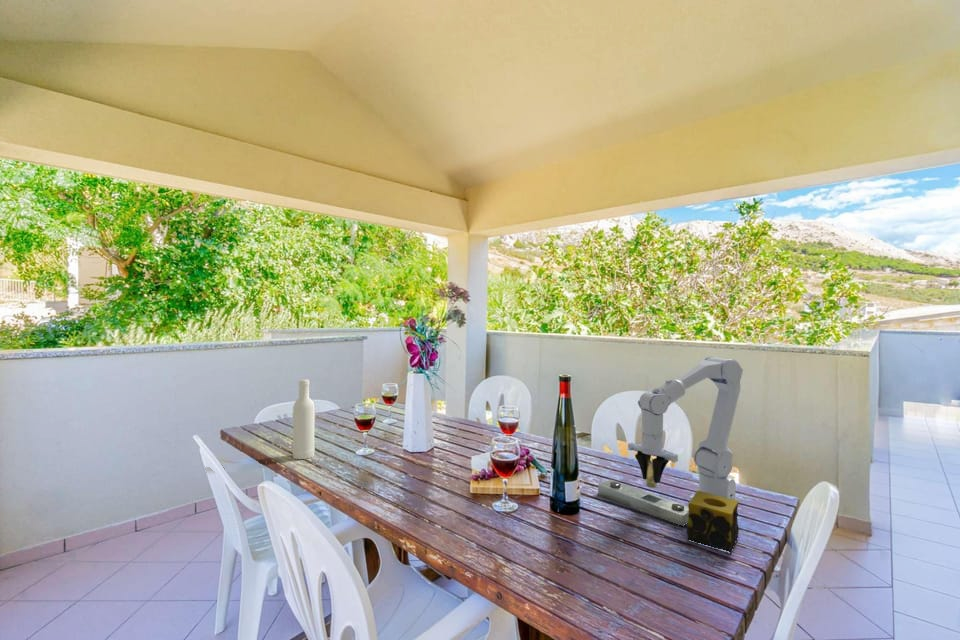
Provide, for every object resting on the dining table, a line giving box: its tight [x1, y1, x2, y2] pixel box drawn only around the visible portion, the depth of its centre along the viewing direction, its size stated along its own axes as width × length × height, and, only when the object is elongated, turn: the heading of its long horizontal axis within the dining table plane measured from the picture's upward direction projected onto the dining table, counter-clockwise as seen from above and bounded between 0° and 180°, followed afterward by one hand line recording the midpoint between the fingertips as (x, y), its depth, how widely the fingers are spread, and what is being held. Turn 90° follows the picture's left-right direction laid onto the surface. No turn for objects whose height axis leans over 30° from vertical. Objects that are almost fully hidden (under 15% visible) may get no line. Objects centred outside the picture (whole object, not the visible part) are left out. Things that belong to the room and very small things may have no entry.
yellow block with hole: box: [686, 490, 740, 552], centre depth 111 cm, size 10×10×10 cm
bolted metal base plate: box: [597, 479, 689, 527], centre depth 130 cm, size 27×7×4 cm, turn 39°
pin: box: [645, 459, 658, 489], centre depth 128 cm, size 3×3×7 cm
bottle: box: [292, 379, 316, 460], centre depth 170 cm, size 8×8×30 cm
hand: (651, 480), depth 128 cm, fingers closed on pin, 3 cm apart
